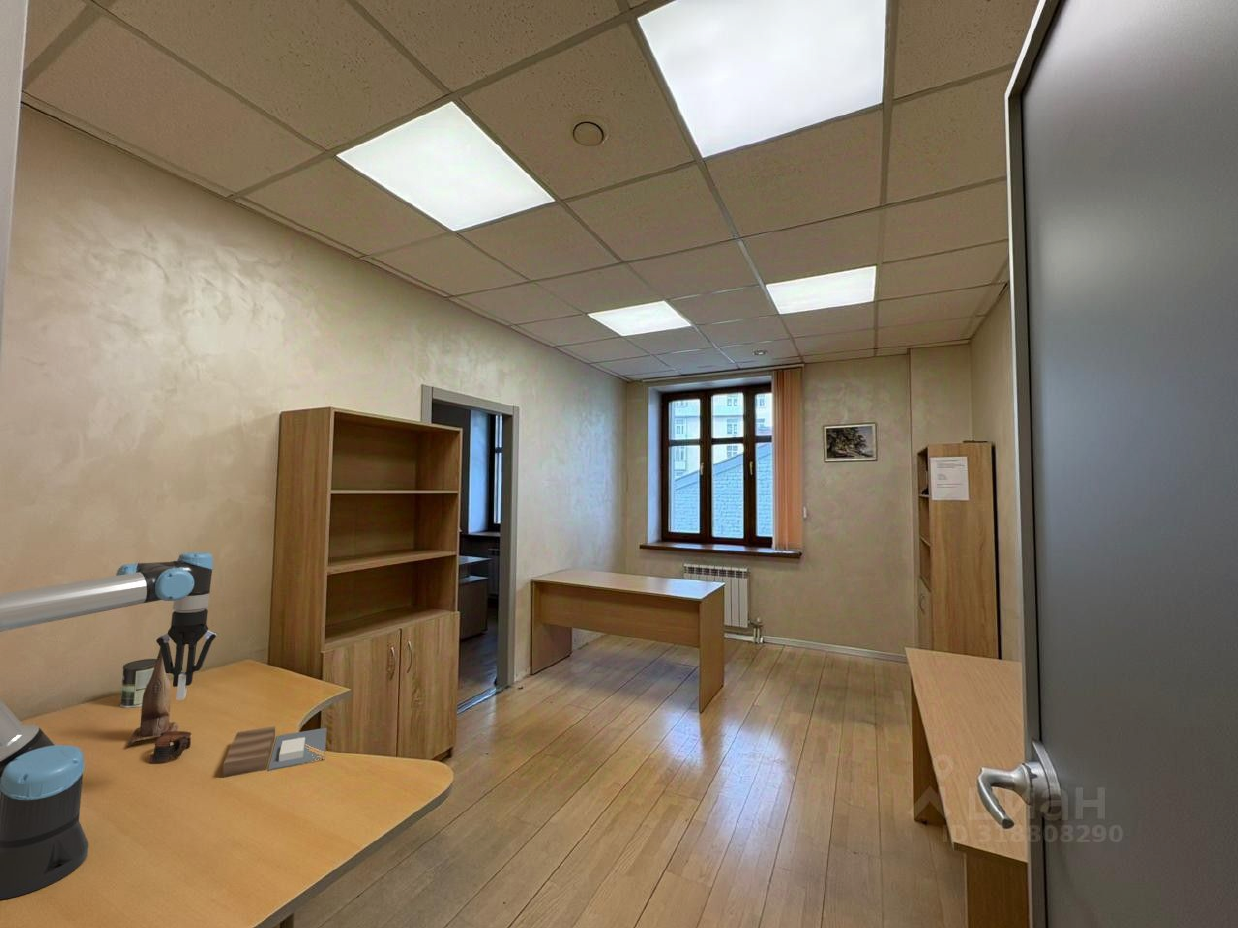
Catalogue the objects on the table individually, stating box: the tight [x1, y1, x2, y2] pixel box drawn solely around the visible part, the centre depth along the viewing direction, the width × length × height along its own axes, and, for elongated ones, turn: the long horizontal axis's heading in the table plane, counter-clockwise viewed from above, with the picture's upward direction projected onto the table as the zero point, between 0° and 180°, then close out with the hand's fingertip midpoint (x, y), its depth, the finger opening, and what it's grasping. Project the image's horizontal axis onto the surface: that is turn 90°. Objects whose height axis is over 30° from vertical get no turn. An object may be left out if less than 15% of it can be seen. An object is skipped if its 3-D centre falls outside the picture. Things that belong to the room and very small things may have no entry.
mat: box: [267, 727, 328, 772], centre depth 160 cm, size 22×14×1 cm, turn 28°
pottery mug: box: [148, 730, 192, 764], centre depth 153 cm, size 12×10×8 cm
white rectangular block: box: [279, 737, 305, 761], centre depth 156 cm, size 9×6×2 cm, turn 28°
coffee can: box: [119, 658, 157, 709], centre depth 189 cm, size 10×10×14 cm
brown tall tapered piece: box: [125, 646, 179, 750], centre depth 164 cm, size 11×12×32 cm
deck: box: [222, 725, 276, 778], centre depth 154 cm, size 20×10×4 cm, turn 28°
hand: (181, 697), depth 139 cm, fingers closed
